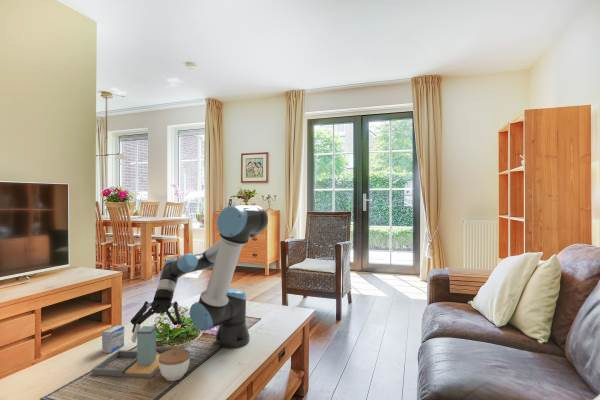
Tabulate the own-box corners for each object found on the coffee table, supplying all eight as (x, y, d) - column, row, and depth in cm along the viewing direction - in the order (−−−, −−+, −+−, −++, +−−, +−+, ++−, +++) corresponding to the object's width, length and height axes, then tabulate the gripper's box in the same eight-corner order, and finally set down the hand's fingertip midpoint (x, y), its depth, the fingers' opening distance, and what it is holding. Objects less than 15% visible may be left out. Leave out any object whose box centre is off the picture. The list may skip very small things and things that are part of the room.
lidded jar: (158, 387, 116) (158, 359, 116) (158, 372, 126) (158, 346, 126) (191, 380, 120) (191, 354, 120) (188, 366, 130) (188, 342, 130)
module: (156, 359, 133) (156, 326, 133) (150, 366, 127) (150, 331, 127) (143, 359, 133) (143, 326, 133) (136, 365, 127) (137, 331, 127)
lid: (171, 357, 137) (171, 354, 137) (151, 377, 122) (151, 374, 122) (145, 356, 138) (145, 353, 138) (122, 376, 123) (122, 372, 123)
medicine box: (111, 353, 140) (111, 332, 140) (101, 352, 141) (101, 331, 141) (124, 345, 148) (124, 325, 148) (115, 344, 149) (115, 324, 149)
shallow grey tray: (146, 356, 138) (146, 351, 138) (123, 376, 123) (123, 370, 123) (118, 355, 139) (118, 350, 139) (91, 374, 124) (92, 369, 124)
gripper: (195, 296, 152) (184, 344, 137) (139, 296, 152) (122, 344, 137) (191, 288, 147) (180, 337, 132) (133, 288, 146) (115, 337, 132)
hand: (150, 341), depth 134 cm, fingers open, 13 cm apart
